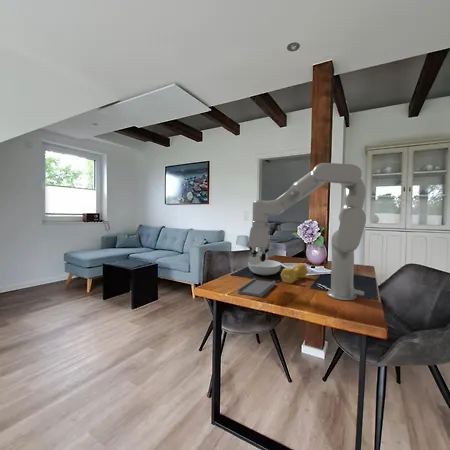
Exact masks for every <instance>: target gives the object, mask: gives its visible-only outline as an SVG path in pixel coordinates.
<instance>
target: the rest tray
mask: <svg viewBox="0 0 450 450" xmlns="http://www.w3.org/2000/svg"><path fill="white" fill-rule="evenodd" d="M275 285H276V281H275V280H272V281H266V280H257V279H256V278H255V277H254V278H252V279H251V280H249V281H248V282H246V283H245V284H243V285H242V286H240V287H239V288H238V289H237V293H238V294H240V295H247V296H253V297H259V298H262V297H264V296H265V295H266V294H267V293H268V292H269V291H270V290H271V289H272V288H274V286H275Z"/></svg>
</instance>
